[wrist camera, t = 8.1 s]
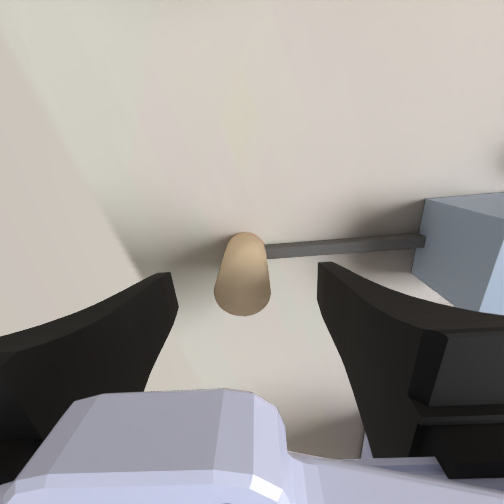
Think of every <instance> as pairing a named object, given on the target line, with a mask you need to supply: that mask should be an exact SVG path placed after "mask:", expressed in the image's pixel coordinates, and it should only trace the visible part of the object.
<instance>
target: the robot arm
mask: <svg viewBox="0 0 504 504" xmlns="http://www.w3.org/2000/svg"><path fill="white" fill-rule="evenodd" d="M317 301H318V304H319V308H320V311H321V314H322V317H323V319H324V322H325V324H326V326H327V328H328V330H329V333H330V335H331V337H332V339H333V341H334V343H335V346H336V348H337V350H338V352H339V354H340V356H341V359H342V361H343V364H344V366H345V369H346V372H347V375H348V378H349V381H350V384H351V387H352V390H353V393H354V396H355V399H356V403H357V406H358V409H359V412H360V415H361V419H362V422H363V425H364V429H365V435H364V441H363V447H362V453H361V459H330V458H324V457H319V456H314V455H309V454H303V453H298V452H293V451H287V442H286V433H285V425H284V423H283V421H282V419H281V417H280V414H279V412H278V410H277V408H276V407H275V406H273V405H272V404H270V403H269V402H267V401H265V400H264V399H262V398H260V397H259V396H257V395H256V394H254V393H252V392H247V391H241V390H234V389H227V388H222V389H198V390H174V391H153V392H152V391H151V392H144V389H145V386H146V383H147V381H148V378H149V375H150V373H151V370H152V368H153V366H154V364H155V362H156V360H157V357H158V355H159V353H160V351H161V349H162V347H163V345H164V343H165V341H166V339H167V337H168V335H169V333H170V331H171V328H172V326H173V324H174V321H175V318H176V315H177V311H178V308H179V306H178V302H177V298H176V294H175V289H174V285H173V281H172V277H171V272H165V273H157V274H154V275H152V276H150V277H148V278H146V279H144V280H142V281H140V282H138V283H136V284H134V285H133V286H131V287H129V288H127V289H125V290H123V291H121V292H119V293H117V294H115V295H113V296H111V297H109V298H107V299H106V300H103V301H101V302H99V303H97V304H95V305H93V306H90V307H88V308H86V309H83V310H81V311H78V312H76V313H73V314H71V315H68V316H65V317H63V318H60V319H57V320H54V321H51V322H48V323H45V324H42V325H40V326H36V327H33V328H29V329H26V330H23V331H19V332H15V333H12V334H9V335H5V336H1V337H0V504H504V315H498V314H491V313H484V312H477V311H472V310H467V309H462V308H457V307H451V306H447V305H443V304H438V303H434V302H430V301H427V300H423V299H419V298H416V297H412V296H409V295H406V294H403V293H400V292H397V291H394V290H391V289H389V288H386V287H384V286H381V285H379V284H377V283H374V282H372V281H370V280H368V279H366V278H363V277H361V276H359V275H357V274H355V273H353V272H351V271H350V270H348V269H346V268H344V267H342V266H340V265H338V264H336V263H333V262H319V263H318V281H317Z"/></svg>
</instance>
